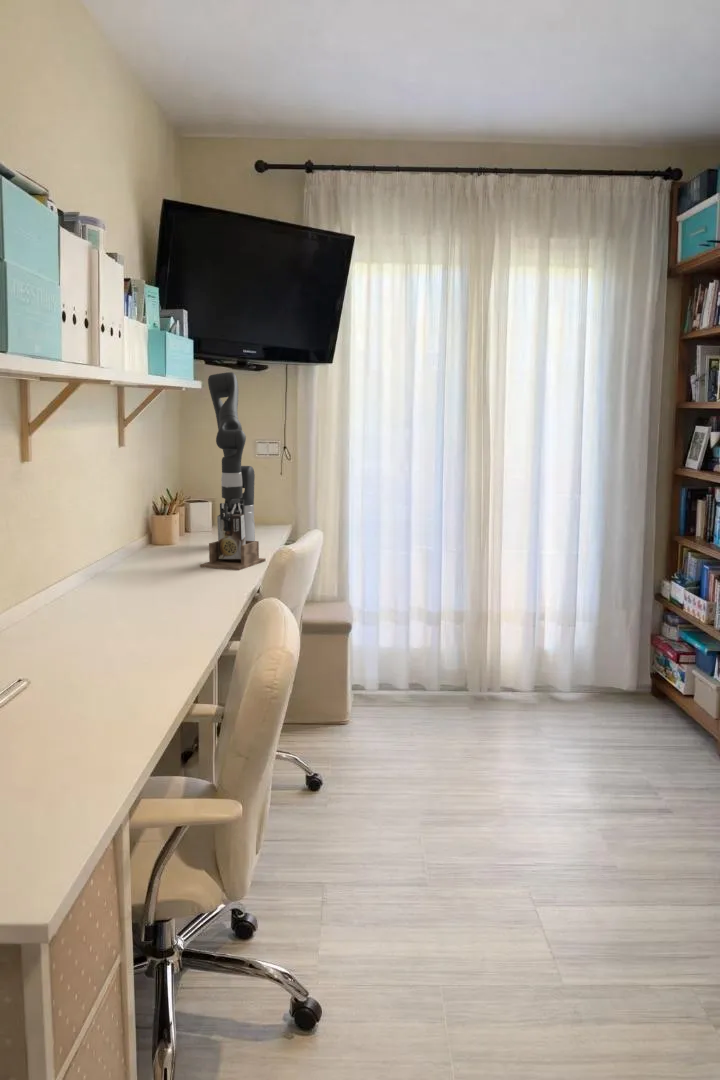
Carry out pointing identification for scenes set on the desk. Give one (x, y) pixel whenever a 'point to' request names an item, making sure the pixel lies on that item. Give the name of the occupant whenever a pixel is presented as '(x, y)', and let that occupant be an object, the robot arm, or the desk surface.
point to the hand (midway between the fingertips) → (232, 529)
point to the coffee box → (231, 537)
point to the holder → (247, 559)
